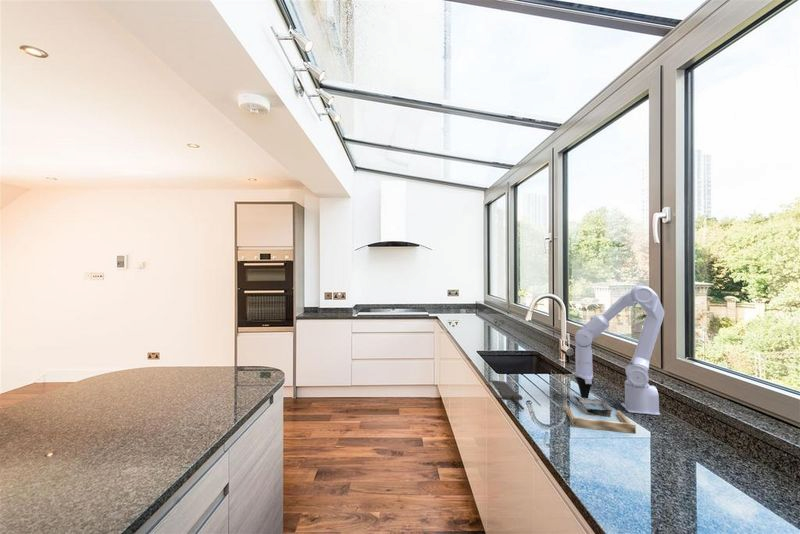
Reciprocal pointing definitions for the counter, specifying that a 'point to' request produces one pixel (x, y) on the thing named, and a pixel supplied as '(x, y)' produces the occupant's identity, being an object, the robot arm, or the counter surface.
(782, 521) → the counter surface
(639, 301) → the robot arm
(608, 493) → the counter surface
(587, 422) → the oak frame
